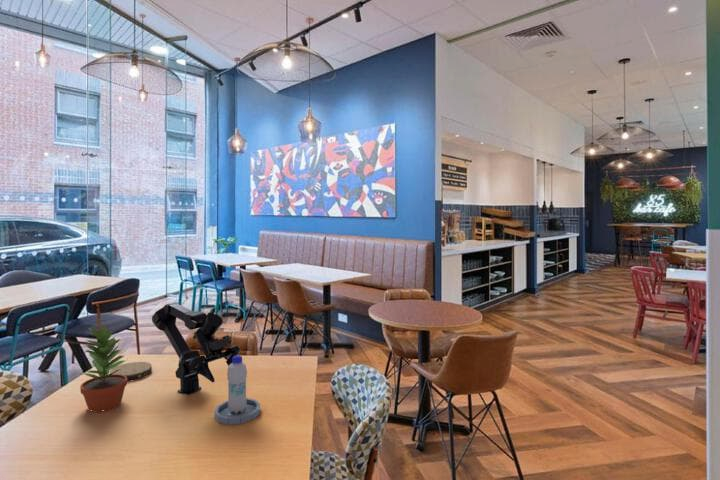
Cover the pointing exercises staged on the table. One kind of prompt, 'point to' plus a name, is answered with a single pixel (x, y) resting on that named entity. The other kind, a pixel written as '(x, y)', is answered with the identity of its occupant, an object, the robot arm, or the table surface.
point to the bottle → (237, 385)
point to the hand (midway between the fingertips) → (225, 377)
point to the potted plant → (104, 374)
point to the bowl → (232, 419)
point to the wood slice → (133, 370)
